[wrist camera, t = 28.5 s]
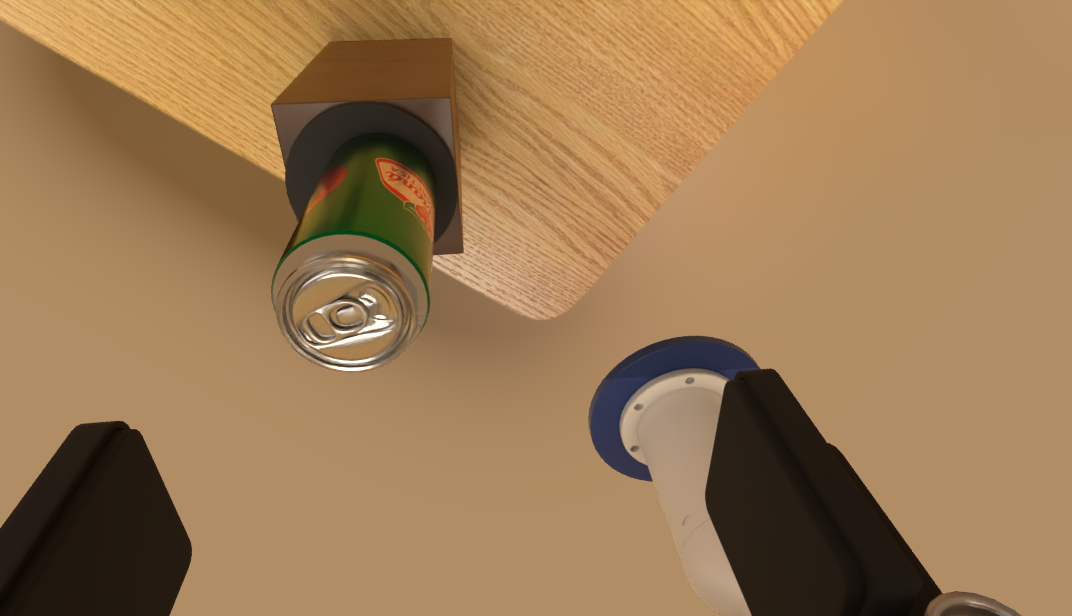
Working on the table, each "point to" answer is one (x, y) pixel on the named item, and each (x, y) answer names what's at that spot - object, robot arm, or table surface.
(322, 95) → the pedestal
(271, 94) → the table surface
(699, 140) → the table surface
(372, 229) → the soda can
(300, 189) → the coaster
